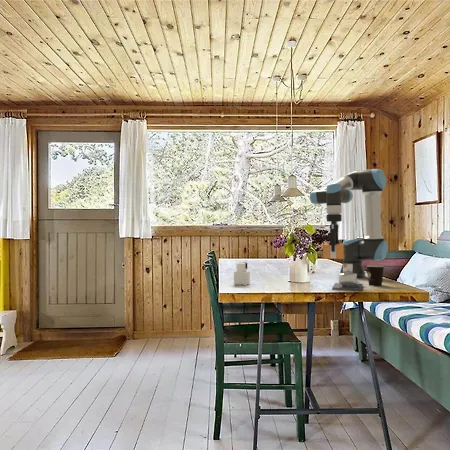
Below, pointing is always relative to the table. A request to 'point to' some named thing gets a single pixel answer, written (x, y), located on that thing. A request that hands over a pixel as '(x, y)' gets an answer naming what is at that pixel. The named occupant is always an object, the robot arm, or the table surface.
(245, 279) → the medicine bottle
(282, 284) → the table surface
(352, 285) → the piston stand
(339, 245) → the orange brown box
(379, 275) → the coffee mug
